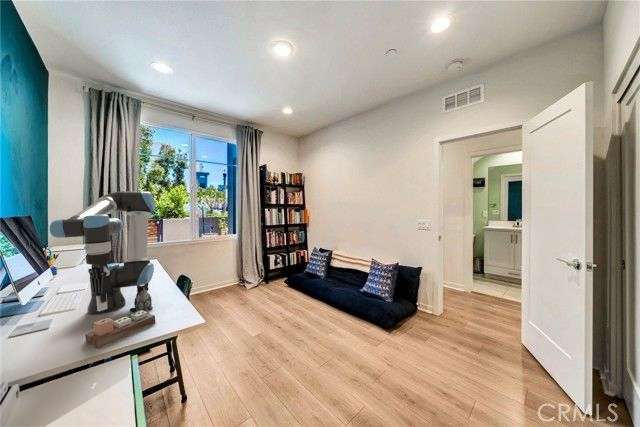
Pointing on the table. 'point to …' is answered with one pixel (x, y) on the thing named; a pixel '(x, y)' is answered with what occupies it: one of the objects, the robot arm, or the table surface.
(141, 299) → the figurine
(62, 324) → the table surface
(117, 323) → the tile two
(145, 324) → the board
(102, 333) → the pink toy block
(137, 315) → the tile three
